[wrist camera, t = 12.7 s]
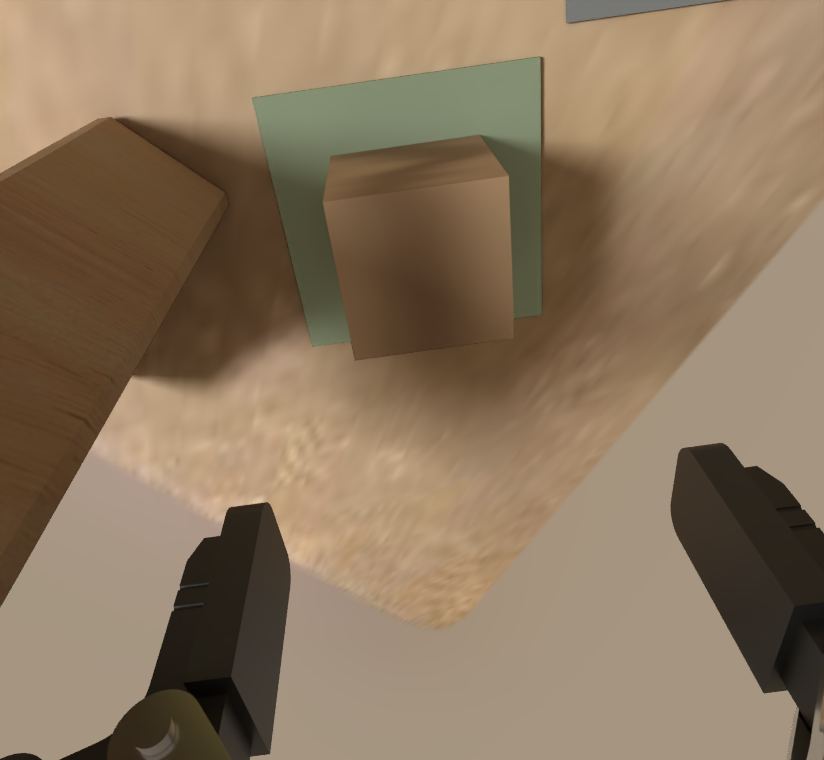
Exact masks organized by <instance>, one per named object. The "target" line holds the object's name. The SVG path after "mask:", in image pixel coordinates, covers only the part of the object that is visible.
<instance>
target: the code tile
mask: <svg viewBox="0 0 824 760" xmlns="http://www.w3.org/2000/svg"><path fill="white" fill-rule="evenodd" d="M716 1H723V0H566V23H571V22H578V21H584V20H591V19H598V18H605V17H612V16H619V15H626V14H633V13H640V12H647V11H654V10H661V9H668V8H675V7H682V6H689V5H696V4H702V3H709V2H716Z"/></svg>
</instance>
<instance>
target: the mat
mask: <svg viewBox="0 0 824 760" xmlns="http://www.w3.org/2000/svg"><path fill="white" fill-rule="evenodd" d="M252 100H253V104H254V108H255V112H256V117H257V121H258V125H259V129H260V133H261V137H262V141H263V145H264V149H265V154H266V158H267V162H268V166H269V170H270V174H271V178H272V182H273V186H274V191H275V195H276V199H277V203H278V207H279V211H280V215H281V219H282V223H283V228H284V232H285V236H286V240H287V244H288V248H289V252H290V256H291V260H292V265H293V269H294V273H295V277H296V281H297V285H298V289H299V293H300V297H301V302H302V306H303V310H304V314H305V318H306V322H307V326H308V330H309V334H310V338H311V343H312V347H315V346H322V345H329V344H336V343H343V342H350V341H351V339H350V334H349V329H348V324H347V319H346V314H345V309H344V304H343V300H342V295H341V290H340V285H339V280H338V275H337V270H336V265H335V260H334V255H333V250H332V245H331V241H330V236H329V231H328V226H327V221H326V216H325V211H324V206H323V198H324V192H325V186H326V180H327V174H328V168H329V162H330V156H334V155H341V154H348V153H355V152H361V151H368V150H375V149H382V148H389V147H396V146H403V145H410V144H417V143H424V142H431V141H438V140H445V139H452V138H459V137H466V136H473V135H480V136H481V138H482V139H483V141H484V142H485V143H486V145H487V146H488V148H489V149H490V150H491V152H492V153H493V154H494V156H495V157H496V159H497V160H498V161H499V163H500V164H501V166H502V167H503V168H504V170H505V171H506V173H507V174H508V175H509V196H510V224H511V253H512V281H513V309H514V319H516V318H523V317H530V316H537V315H542V242H541V72H540V57H533V58H526V59H519V60H512V61H505V62H498V63H491V64H484V65H477V66H471V67H464V68H457V69H450V70H443V71H436V72H429V73H422V74H415V75H408V76H401V77H394V78H387V79H380V80H373V81H366V82H359V83H352V84H345V85H338V86H331V87H324V88H317V89H310V90H303V91H296V92H289V93H282V94H275V95H269V96H262V97H255V98H252Z"/></svg>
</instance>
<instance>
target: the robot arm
mask: <svg viewBox="0 0 824 760" xmlns="http://www.w3.org/2000/svg"><path fill="white" fill-rule="evenodd" d="M671 517H672V522H673V526H674V529H675V532H676V534H677V536H678V538H679V540H680V542H681V543H682V545H683V547H684V549H685V551H686V553H687V554H688V556H689V558H690V560H691V562H692V563H693V565H694V567H695V569H696V571H697V573H698V574H699V576H700V578H701V580H702V582H703V584H704V585H705V587H706V589H707V591H708V592H709V595H710V596H711V598H712V600H713V602H714V603H715V605H716V607H717V609H718V611H719V613H720V614H721V616H722V618H723V620H724V622H725V623H726V625H727V627H728V629H729V631H730V633H731V635H732V636H733V638H734V640H735V641H736V643H737V645H738V647H739V649H740V651H741V653H742V655H743V656H744V658H745V660H746V662H747V664H748V665H749V667H750V669H751V671H752V673H753V675H754V676H755V678H756V680H757V682H758V684H759V685H760V687H761V689H762V691H763V693H770V692H777V691H786V690H788V691H789V693H790V695H791V696H792V698H793V700H794V701H795V703H796V705H797V708H796V711H795V714H794V719H793V724H792V730H791V736H790V743H789V748H788V753H787V760H824V534H823V532H822V531H821V529H820V528H816V526H815V522H814V521H813V520H812V518H811V517H810V516H809V515H808V513H807V512H806V511H805V510H802V509H801V505H800V504H799V502H798V501H797V500H796V499H795V497H794V496H793V495H792V494H791V493H790V491H789V490H788V489H787V488H786V486H785V485H784V484H783V483H782V482H780V481H779V480H777V479H776V478H774V477H773V476H771V475H770V474H768V473H767V472H765V471H764V470H762V469H761V468H759V467H758V466H753V467H746V468H744V467H743V465H742V464H741V463H740V461H739V460H738V459H737V458H736V456H735V455H734V454H733V452H732V451H731V450H730V449H729V447H728V446H726V445H725V444H723V443H717V444H710V445H703V446H695V447H687V448H682V449H681V450H680V452H679V454H678V460H677V466H676V472H675V479H674V485H673V492H672V499H671ZM290 576H291V575H290V563H289V558H288V554H287V551H286V548H285V545H284V542H283V539H282V536H281V533H280V530H279V527H278V524H277V522H276V519H275V516H274V513H273V510H272V507H271V506H270V504H269V503H268V502H266V503H259V504H251V505H244V506H236V507H230V508H229V509H228V510H227V513H226V516H225V520H224V524H223V528H222V532H221V536H217V537H210V538H204V539H203V541H202V542H201V543H200V544H199V546H198V547H197V548H196V550H195V551H194V552H193V554H192V555H191V556H190V558H189V559H188V561H187V563H186V566H185V570H184V573H183V576H182V580H181V583H180V590H179V591H178V593H177V596H176V600H175V603H174V611H172V613H171V616H170V619H169V623H168V626H167V629H166V633H165V636H164V640H163V643H162V647H161V649H160V653H159V656H158V659H157V663H156V666H155V670H154V673H153V677H152V679H151V683H150V686H149V689H148V692H147V694H146V696H145V698H144V699H142V700H141V701H139V702H138V703H137V704H135V705H134V706H133V707H132V708H131V709H130V710H129V711H128V712H127V713H126V714H125V715H124V716H123V718H122V719H121V720H120V721H119V723H118V724H117V726H116V728H115V729H114V731H113V734H111V735H110V736H108V737H107V738H105V739H103V740H101V741H99V742H98V743H96V744H93V745H91V746H89V747H87V748H85V749H82V750H80V751H78V752H75V753H73V754H71V755H69V756H67V757H64V758H62V759H60V760H250V757H251V756H259V755H266V754H270V749H271V741H272V732H273V724H274V715H275V708H276V698H277V691H278V683H279V674H280V666H281V657H282V650H283V640H284V633H285V625H286V617H287V609H288V600H289V592H290V581H291V579H290V578H291V577H290ZM0 760H42V759H40V758H39V757H37V756H35V755H33V754H27V753H19V754H13V755H10V756H7V757H4V758H2V759H0Z"/></svg>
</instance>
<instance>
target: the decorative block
mask: <svg viewBox="0 0 824 760" xmlns="http://www.w3.org/2000/svg"><path fill="white" fill-rule="evenodd" d="M228 205H229V204H228V201H227V197H226V194H225V192H223V191H222V190H220V189H219V188H217V187H216V186H214V185H213V184H211V183H210V182H208V181H207V180H205V179H204V178H202V177H201V176H199V175H198V174H196V173H195V172H193V171H192V170H190V169H189V168H187V167H185V166H184V165H182V164H181V163H179V162H178V161H176V160H175V159H173V158H172V157H170V156H169V155H167V154H166V153H164V152H163V151H161V150H160V149H158V148H157V147H155V146H154V145H152V144H151V143H149V142H148V141H146V140H145V139H143V138H142V137H140V136H139V135H137V134H136V133H134V132H132V131H131V130H129V129H128V128H126V127H125V126H123V125H122V124H120V123H119V122H117V121H116V120H114V119H113V118H111V117H108V118H101V119H97V120H95V121H93V122H91V123H89V124H88V125H86V126H84V127H82V128H80V129H79V130H77V131H75V132H73V133H71V134H70V135H68V136H66V137H64V138H62V139H61V140H59V141H57V142H55V143H53V144H52V145H50V146H48V147H46V148H44V149H43V150H41V151H39V152H37V153H35V154H34V155H32V156H30V157H28V158H27V159H25V160H23V161H21V162H20V163H18V164H16V165H14V166H13V167H11V168H9V169H7V170H5V171H4V172H2V173H0V607H1V605H2V603H3V602H4V600H5V598H6V596H7V595H8V593H9V591H10V589H11V588H12V586H13V584H14V582H15V581H16V579H17V577H18V575H19V574H20V572H21V570H22V568H23V567H24V565H25V563H26V561H27V560H28V558H29V556H30V554H31V552H32V551H33V549H34V547H35V545H36V544H37V542H38V540H39V538H40V537H41V535H42V533H43V531H44V530H45V528H46V526H47V524H48V523H49V521H50V519H51V517H52V515H53V514H54V512H55V510H56V508H57V507H58V505H59V503H60V501H61V500H62V498H63V496H64V494H65V493H66V491H67V489H68V487H69V486H70V484H71V482H72V480H73V478H74V476H75V475H76V473H77V471H78V470H79V468H80V466H81V464H82V463H83V461H84V459H85V457H86V456H87V454H88V452H89V450H90V449H91V447H92V445H93V443H94V442H95V440H96V438H97V436H98V434H99V433H100V431H101V429H102V427H103V426H104V424H105V422H106V420H107V419H108V417H109V415H110V413H111V412H112V410H113V408H114V406H115V405H116V403H117V401H118V399H119V397H120V396H121V394H122V392H123V390H124V389H125V387H126V385H127V383H128V382H129V380H130V378H131V376H132V375H133V373H134V371H135V369H136V367H137V366H138V364H139V362H140V360H141V359H142V357H143V355H144V353H145V352H146V350H147V348H148V346H149V345H150V343H151V341H152V339H153V337H154V336H155V334H156V332H157V330H158V329H159V327H160V325H161V323H162V322H163V320H164V318H165V316H166V315H167V313H168V311H169V309H170V308H171V306H172V304H173V302H174V300H175V299H176V297H177V295H178V293H179V292H180V290H181V288H182V286H183V285H184V283H185V281H186V279H187V278H188V276H189V274H190V272H191V271H192V269H193V267H194V265H195V263H196V262H197V260H198V258H199V256H200V255H201V253H202V251H203V249H204V248H205V246H206V244H207V242H208V241H209V239H210V237H211V235H212V233H213V232H214V230H215V228H216V226H217V225H218V223H219V221H220V219H221V218H222V216H223V214H224V212H225V211H226V209H227V207H228Z"/></svg>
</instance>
